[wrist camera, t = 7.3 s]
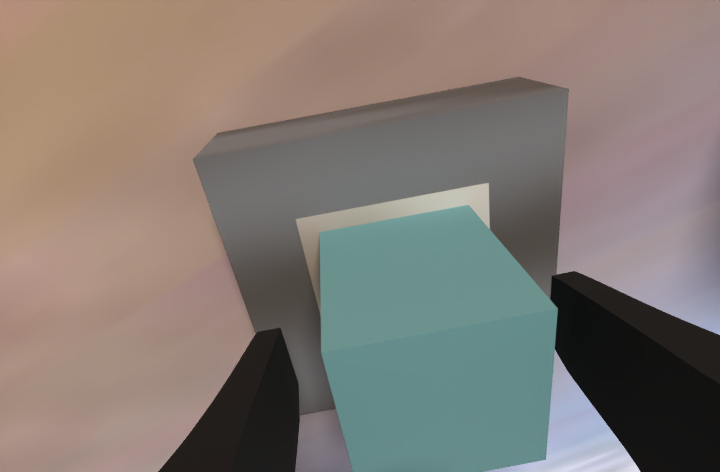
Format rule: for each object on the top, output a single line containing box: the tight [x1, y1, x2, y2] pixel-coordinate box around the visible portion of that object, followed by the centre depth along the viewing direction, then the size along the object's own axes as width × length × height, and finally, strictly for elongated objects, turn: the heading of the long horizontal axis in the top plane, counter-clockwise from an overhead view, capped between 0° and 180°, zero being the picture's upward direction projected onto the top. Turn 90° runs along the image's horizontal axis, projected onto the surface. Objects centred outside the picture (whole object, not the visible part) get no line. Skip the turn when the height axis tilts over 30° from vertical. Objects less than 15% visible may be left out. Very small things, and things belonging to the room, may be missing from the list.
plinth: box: [193, 77, 569, 415], centre depth 14 cm, size 10×10×3 cm
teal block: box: [320, 205, 558, 472], centre depth 11 cm, size 4×4×5 cm
